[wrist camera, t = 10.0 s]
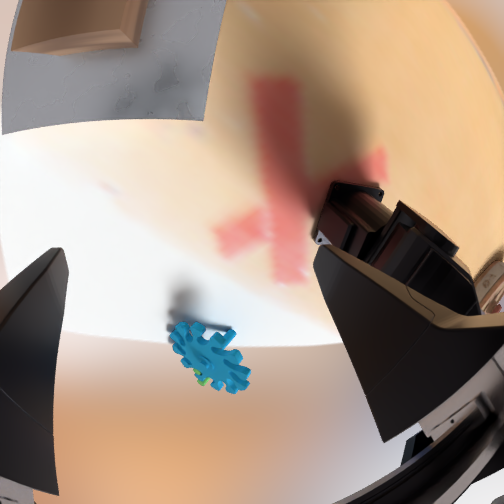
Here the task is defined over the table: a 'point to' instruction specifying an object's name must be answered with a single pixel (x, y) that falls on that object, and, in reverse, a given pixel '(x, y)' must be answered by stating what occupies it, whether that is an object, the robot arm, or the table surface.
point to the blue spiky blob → (210, 357)
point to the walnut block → (78, 25)
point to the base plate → (119, 73)
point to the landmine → (491, 288)
